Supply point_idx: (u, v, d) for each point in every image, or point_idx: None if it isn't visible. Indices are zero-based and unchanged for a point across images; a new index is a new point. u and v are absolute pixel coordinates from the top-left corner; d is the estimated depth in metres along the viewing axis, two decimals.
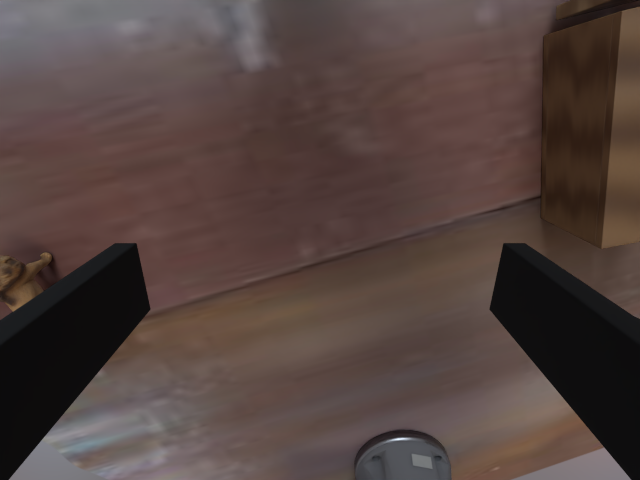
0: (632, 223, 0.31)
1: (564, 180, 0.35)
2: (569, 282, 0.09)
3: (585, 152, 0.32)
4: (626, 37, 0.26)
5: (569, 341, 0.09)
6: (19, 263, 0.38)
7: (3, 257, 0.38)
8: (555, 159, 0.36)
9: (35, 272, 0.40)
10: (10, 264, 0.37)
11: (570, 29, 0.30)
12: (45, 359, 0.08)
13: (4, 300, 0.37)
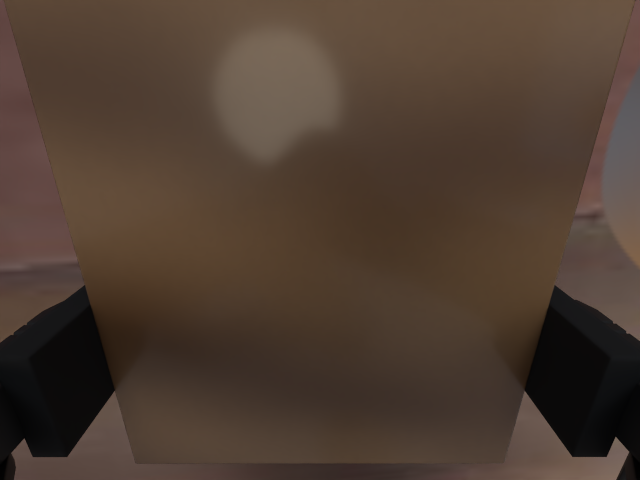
0: (211, 414, 0.10)
1: None
2: None
3: None
4: None
5: None
6: None
7: None
8: None
9: None
10: None
11: None
12: (99, 341, 0.09)
13: None
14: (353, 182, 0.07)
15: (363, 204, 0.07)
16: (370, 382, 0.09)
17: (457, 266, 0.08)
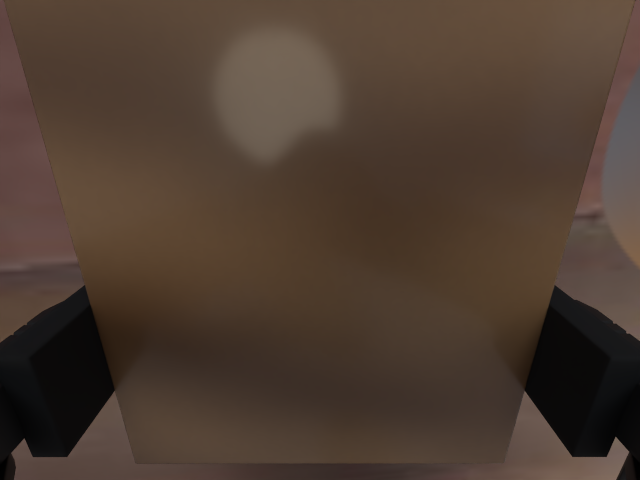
0: (211, 414, 0.10)
1: None
2: None
3: None
4: None
5: None
6: None
7: None
8: None
9: None
10: None
11: None
12: (99, 341, 0.09)
13: None
14: (353, 182, 0.07)
15: (363, 204, 0.07)
16: (370, 382, 0.09)
17: (457, 266, 0.08)
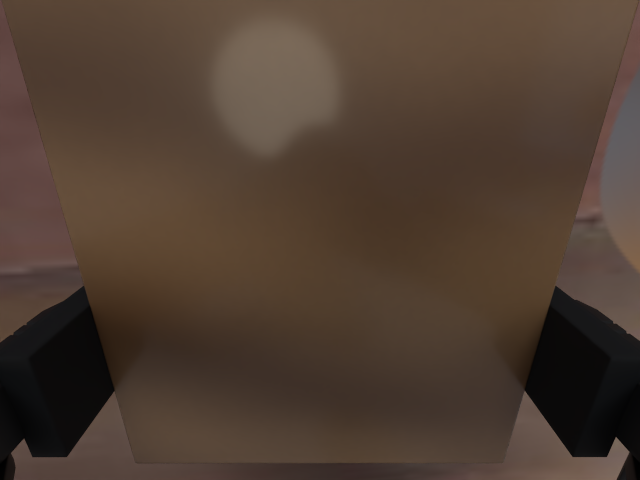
0: (211, 414, 0.10)
1: None
2: None
3: None
4: None
5: None
6: None
7: None
8: None
9: None
10: None
11: None
12: (99, 341, 0.09)
13: None
14: (354, 183, 0.07)
15: (364, 205, 0.07)
16: (370, 382, 0.09)
17: (458, 267, 0.08)
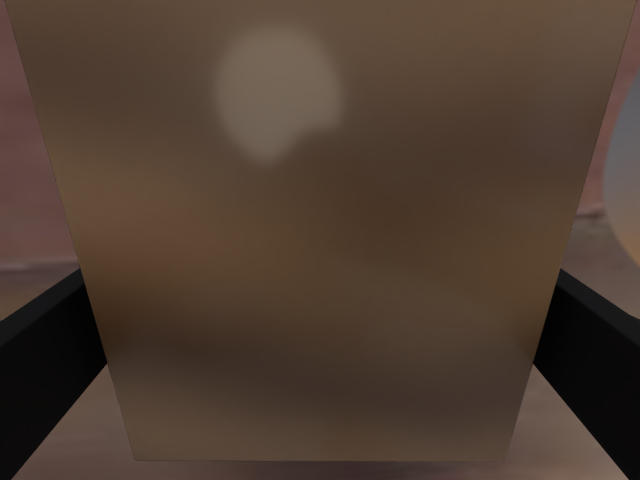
0: (211, 411, 0.09)
1: None
2: (566, 281, 0.09)
3: None
4: None
5: (566, 340, 0.09)
6: None
7: None
8: None
9: None
10: None
11: None
12: (48, 358, 0.08)
13: None
14: (354, 177, 0.07)
15: (364, 199, 0.07)
16: (371, 379, 0.09)
17: (458, 262, 0.08)
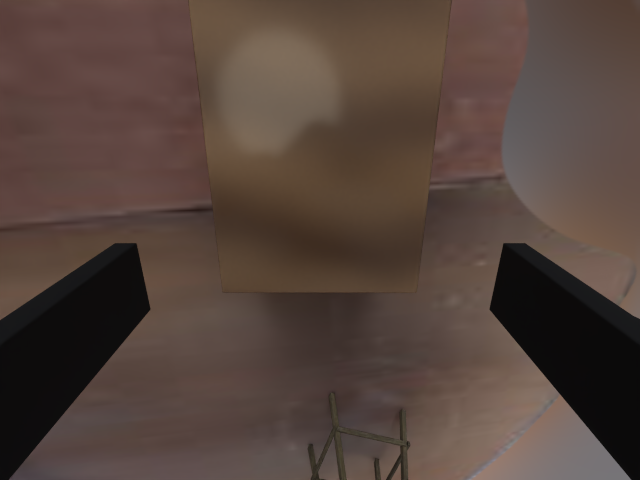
0: (264, 260, 0.19)
1: None
2: (569, 282, 0.09)
3: None
4: None
5: (569, 341, 0.09)
6: None
7: None
8: None
9: None
10: None
11: None
12: (45, 359, 0.08)
13: None
14: (334, 137, 0.16)
15: (339, 147, 0.17)
16: (344, 241, 0.18)
17: (383, 177, 0.17)
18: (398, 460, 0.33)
